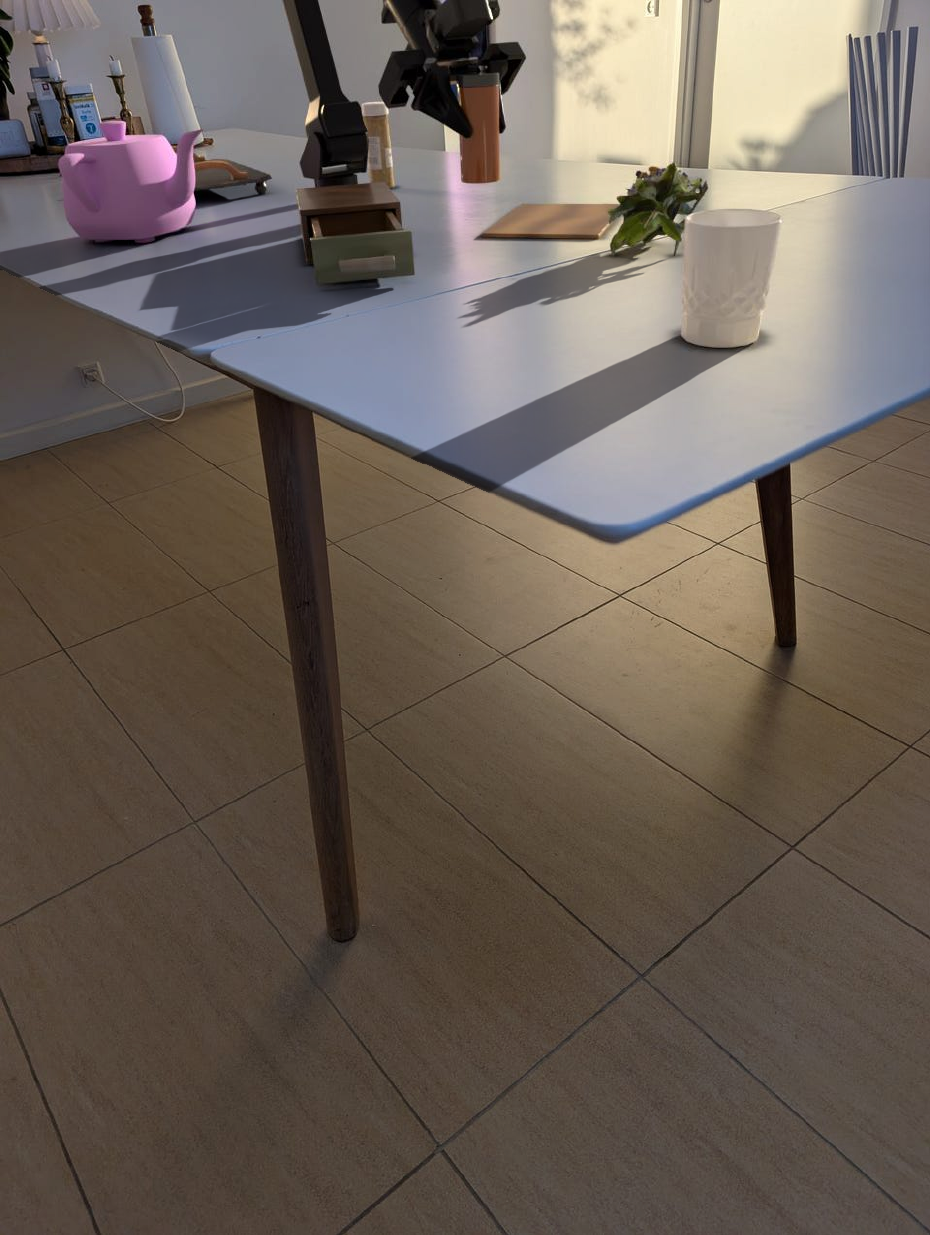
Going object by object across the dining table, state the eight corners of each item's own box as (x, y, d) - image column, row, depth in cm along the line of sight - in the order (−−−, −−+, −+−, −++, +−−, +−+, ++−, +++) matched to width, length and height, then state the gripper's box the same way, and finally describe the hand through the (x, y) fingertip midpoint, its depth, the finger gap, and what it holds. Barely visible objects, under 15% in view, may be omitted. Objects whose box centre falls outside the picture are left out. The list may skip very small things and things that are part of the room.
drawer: (420, 284, 97) (416, 238, 95) (318, 293, 96) (312, 247, 93) (397, 246, 114) (394, 206, 112) (310, 254, 113) (305, 214, 110)
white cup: (664, 327, 83) (673, 212, 77) (747, 321, 83) (762, 206, 78) (689, 354, 76) (701, 229, 71) (778, 347, 77) (797, 223, 71)
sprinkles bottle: (399, 187, 159) (392, 101, 152) (377, 191, 157) (369, 104, 150) (387, 185, 162) (379, 100, 155) (365, 188, 160) (356, 103, 153)
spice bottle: (456, 184, 107) (451, 75, 100) (464, 177, 111) (460, 72, 104) (497, 183, 106) (494, 74, 99) (504, 176, 110) (502, 71, 103)
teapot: (37, 253, 126) (1, 133, 118) (126, 223, 142) (100, 116, 134) (175, 256, 120) (148, 130, 111) (251, 224, 136) (232, 112, 128)
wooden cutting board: (482, 237, 120) (482, 233, 120) (522, 207, 138) (522, 203, 137) (598, 238, 116) (599, 234, 116) (625, 207, 133) (625, 203, 133)
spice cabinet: (404, 256, 113) (400, 201, 109) (307, 265, 111) (299, 210, 108) (389, 230, 127) (384, 181, 124) (302, 238, 126) (295, 188, 122)
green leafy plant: (643, 287, 115) (684, 198, 114) (695, 288, 106) (741, 191, 104) (578, 244, 110) (620, 149, 108) (627, 241, 100) (675, 137, 99)
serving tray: (281, 194, 159) (275, 156, 155) (151, 212, 150) (142, 171, 147) (225, 172, 187) (219, 139, 184) (113, 185, 179) (104, 151, 176)
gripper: (381, -39, 94) (450, 84, 93) (514, -41, 103) (578, 71, 102) (351, 50, 104) (413, 162, 103) (475, 40, 113) (533, 143, 112)
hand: (486, 133), depth 104 cm, fingers closed on spice bottle, 5 cm apart
